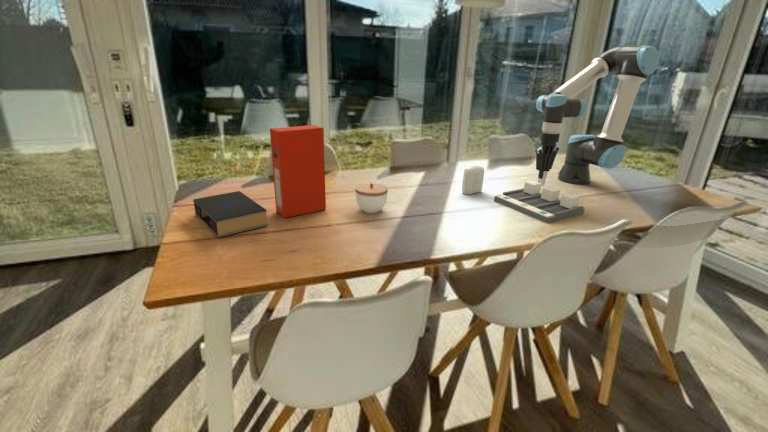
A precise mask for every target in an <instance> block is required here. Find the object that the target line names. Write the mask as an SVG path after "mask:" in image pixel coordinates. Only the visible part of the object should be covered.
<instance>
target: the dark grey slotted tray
mask: <svg viewBox="0 0 768 432" xmlns="http://www.w3.org/2000/svg"><path fill="white" fill-rule="evenodd" d="M523 191H524V187H523V188H518V189H514V190H508V191H503V193H502V194H499V195H495V196H494V197H493V201H494V202H496V203H499V204H501V205H503V206H506V207H508V208H511V209H513V210H516V211H518V212H521V214H525V215H526V216H529V217H532V218H534V219H537V220H539V221H541V222H543V223H547V224H549V223H553V222H557V221H558V222H559V221H561V220H565V219H568V218H571V217H572V218H573V217H576V216H580V215H583V214H584V213H585V209H586V208H584V206H578V207H576V208H572V209H569V208H566V207H563V206H561V205H560V201H561V199H558V200H556V201H551V202H550V201H547V200H544V199H542V198H541V194H542V192H540V193H539V194H535V195H531V194H528V193H526V192H523Z"/></svg>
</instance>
